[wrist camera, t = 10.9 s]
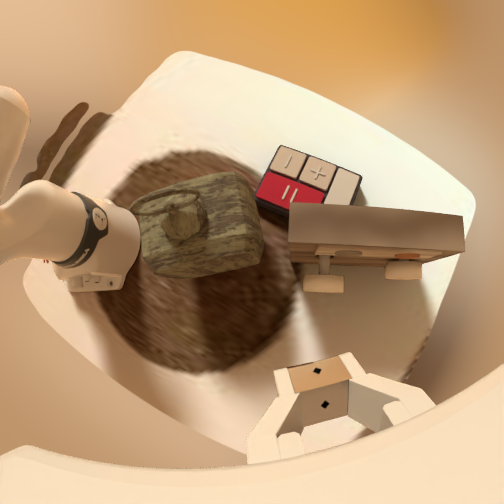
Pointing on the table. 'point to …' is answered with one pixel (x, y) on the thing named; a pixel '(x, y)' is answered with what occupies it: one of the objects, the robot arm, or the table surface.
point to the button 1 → (323, 279)
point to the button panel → (371, 234)
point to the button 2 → (403, 270)
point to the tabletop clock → (200, 226)
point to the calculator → (304, 182)
